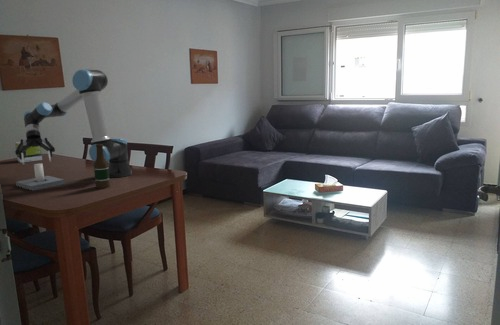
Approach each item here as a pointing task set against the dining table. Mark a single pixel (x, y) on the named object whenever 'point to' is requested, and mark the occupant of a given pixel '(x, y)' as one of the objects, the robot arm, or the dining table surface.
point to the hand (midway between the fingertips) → (37, 162)
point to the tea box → (30, 153)
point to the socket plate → (40, 183)
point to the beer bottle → (101, 169)
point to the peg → (39, 172)
